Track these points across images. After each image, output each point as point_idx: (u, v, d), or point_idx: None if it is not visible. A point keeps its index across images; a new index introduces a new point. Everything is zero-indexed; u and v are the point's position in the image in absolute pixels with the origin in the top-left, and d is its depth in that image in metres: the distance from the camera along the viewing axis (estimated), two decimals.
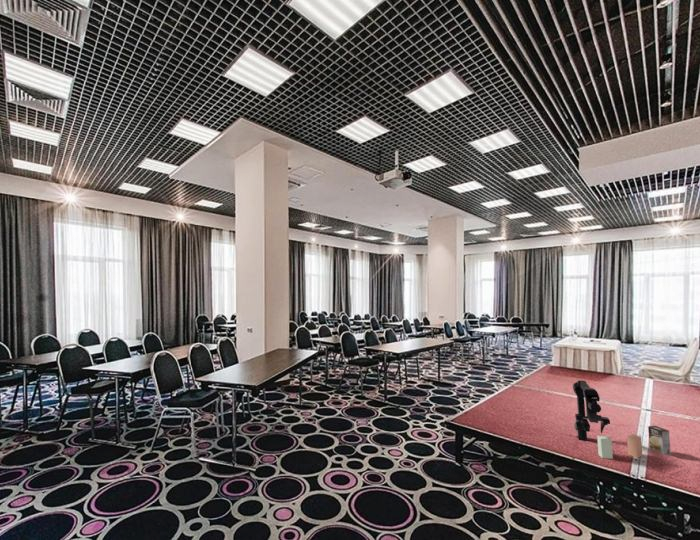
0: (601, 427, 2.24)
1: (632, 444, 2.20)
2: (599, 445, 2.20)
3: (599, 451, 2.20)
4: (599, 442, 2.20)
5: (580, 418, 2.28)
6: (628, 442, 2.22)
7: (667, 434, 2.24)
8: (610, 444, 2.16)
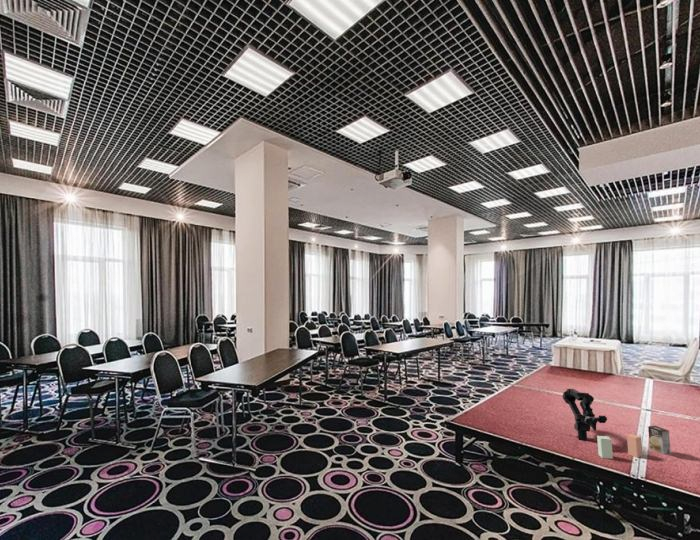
0: None
1: (632, 444, 2.20)
2: (599, 445, 2.20)
3: (599, 451, 2.20)
4: (599, 442, 2.20)
5: None
6: (628, 442, 2.22)
7: (667, 434, 2.24)
8: (610, 444, 2.16)
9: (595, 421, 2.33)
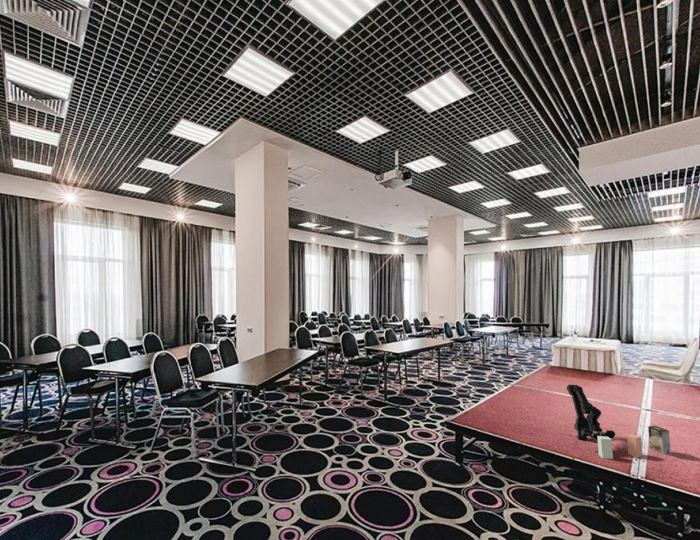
0: None
1: (632, 444, 2.20)
2: (599, 445, 2.19)
3: (599, 451, 2.20)
4: (599, 442, 2.19)
5: None
6: (628, 442, 2.22)
7: (667, 434, 2.24)
8: (610, 444, 2.16)
9: None
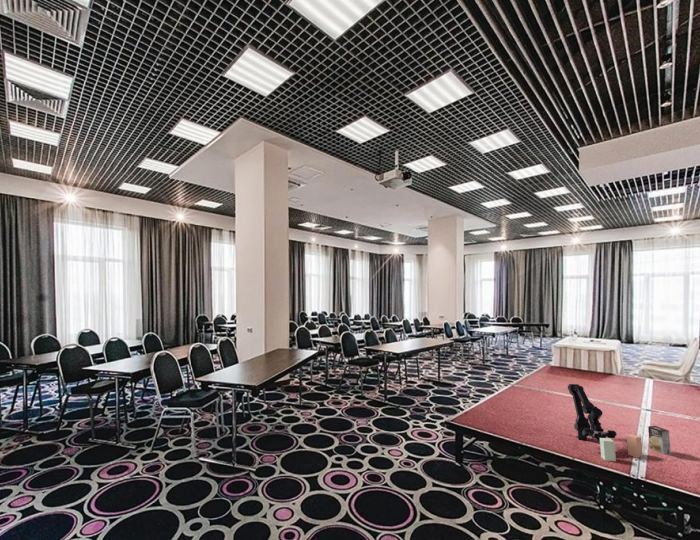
0: None
1: (632, 444, 2.20)
2: (602, 447, 2.16)
3: (602, 453, 2.17)
4: (602, 444, 2.16)
5: None
6: (628, 442, 2.22)
7: (667, 434, 2.24)
8: (613, 446, 2.13)
9: (604, 436, 2.22)
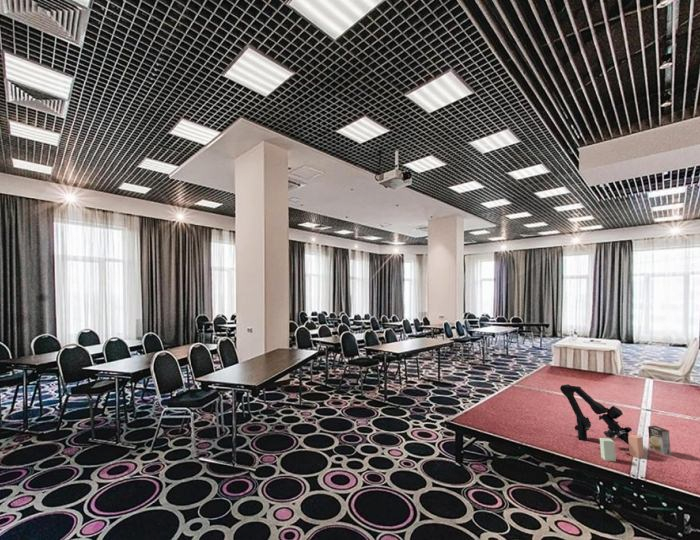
0: None
1: (633, 444, 2.19)
2: (602, 447, 2.16)
3: (602, 453, 2.17)
4: (602, 444, 2.16)
5: None
6: (629, 442, 2.21)
7: (667, 434, 2.24)
8: (613, 446, 2.13)
9: (628, 435, 2.26)
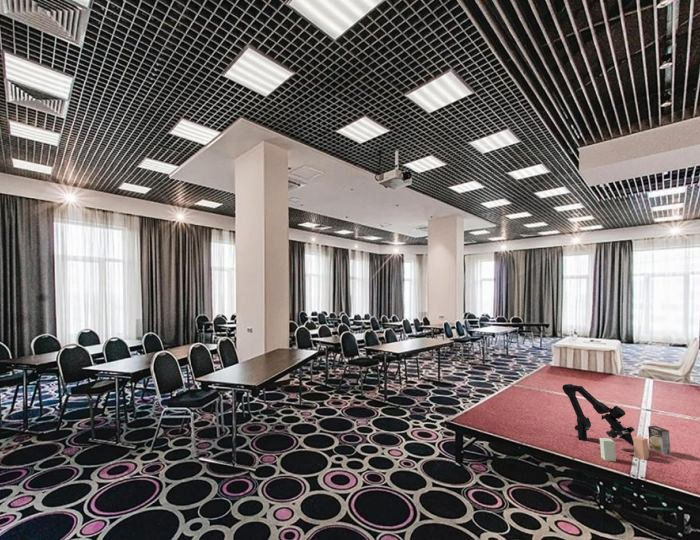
0: None
1: (638, 446, 2.17)
2: (602, 447, 2.16)
3: (602, 453, 2.17)
4: (602, 444, 2.16)
5: None
6: (634, 444, 2.19)
7: (667, 434, 2.24)
8: (613, 446, 2.13)
9: (630, 435, 2.24)
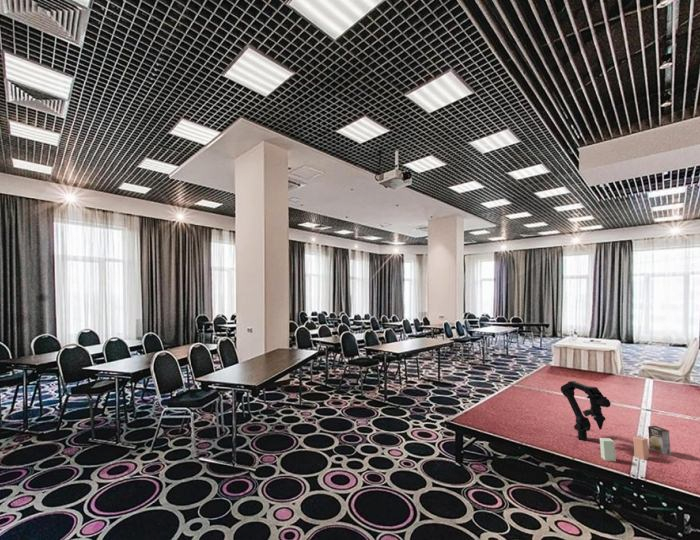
0: (597, 423, 2.37)
1: (638, 446, 2.17)
2: (602, 447, 2.16)
3: (602, 453, 2.17)
4: (602, 444, 2.16)
5: (591, 414, 2.45)
6: (634, 444, 2.19)
7: (667, 434, 2.24)
8: (613, 446, 2.13)
9: None
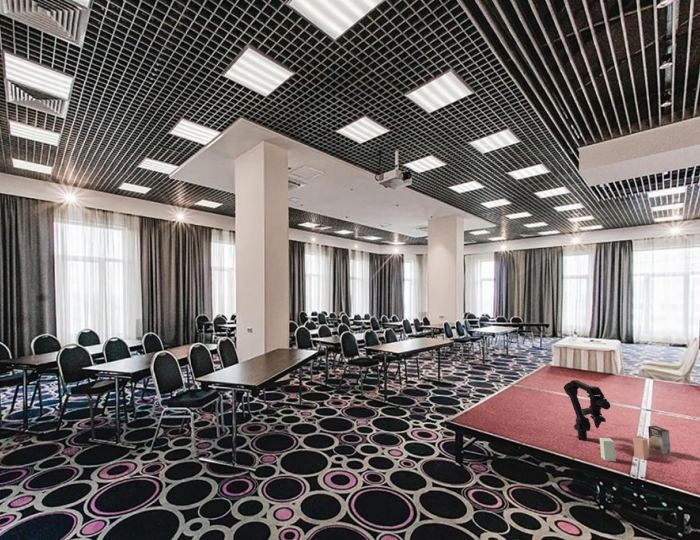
0: (594, 422, 2.37)
1: (638, 446, 2.17)
2: (602, 447, 2.16)
3: (602, 453, 2.17)
4: (602, 444, 2.16)
5: None
6: (634, 444, 2.19)
7: (667, 434, 2.24)
8: (613, 446, 2.13)
9: None
